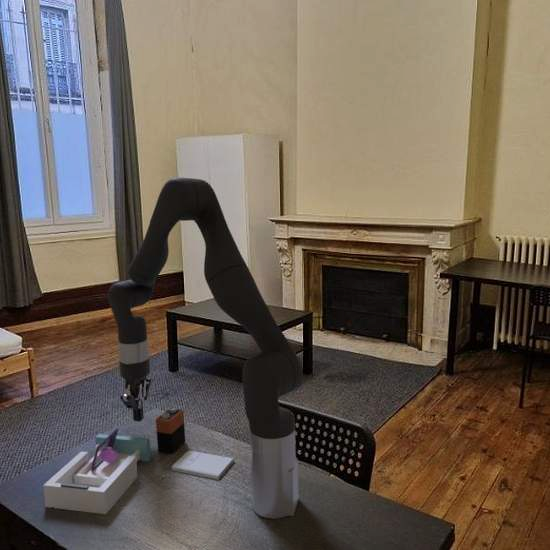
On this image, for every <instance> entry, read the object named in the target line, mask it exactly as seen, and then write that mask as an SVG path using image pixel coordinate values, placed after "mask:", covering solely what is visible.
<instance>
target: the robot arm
mask: <svg viewBox="0 0 550 550" xmlns="http://www.w3.org/2000/svg"><path fill="white" fill-rule="evenodd" d="M180 221H183V222H184V221H194V223H195V224H196V225H197V227H198V229H199V231H200V233H201V235H202V238H203V241H204V245H205V253H204V260H203V261H204V263H203V265H204V266H203V273H204V279H205V282H206V285H207V286H208V288H209V290H210V293H211V295H212V296H213V299H214V301H215V303H216V304H217V306H218V307H219V308H220V309H221V310H222V312H224V313H225V314H226V315H227V316H229V317H230V319H232V320H234V321H235V322H236V323H237V324H238V325H239V326H241V327H242V328H243V329H245V330H246V331H247V332H248V333H249V334H250V336H251V337H252V339H253V341H254V342H255V343H256V345H257V347H258V348H259V351H260V352H261V353H258V354H256V355H253V356H250V357H249V358H247V360H246V362H245V363H244V366H243V368H242V388H243V389H242V391H243V400H244V410H245V415H246V418H247V420H248V425H249V444H250V446H249V447H250V448H249V449H250V454H249V455H250V478H251V480H250V481H251V482H250V483H251V501H252V502H251V504H252V509H253V512H255V513H256V514H257V515H258V516H260V517H263V518H266V519H275V520H276V519H281V518H285V517H294V516H295V512H296V510H297V509H296V508H297V505H298V502H299V461H298V457H296V417H295V415H294V412H292V411H291V410H290V409H287V408H285V407H282V406H280V402H279V398H280V397H282V396H284V395H286V394H289V393H290V392H293V391H295V390H297V389H298V388H299V387H300V386H301V384H302V382H303V378H304V377H303V376H304V375H303V374H304V373H303V368H302V365H301V363H300V362H301V361H300V360H299V358H298V355H297V354H296V351H294V349H293V346H291V343H290V342H289V341H288V339H287V338H286V336H285V333H283V332H282V330H281V328H280V327H279V325H278V323H277V321H276V319H275V318H274V317H273V314H272V312H271V311H270V309H269V306H268V305H267V303H266V302H265V300H264V297H263V296H262V293H261V292H260V290H259V288H258V286H257V283H256V281H255V279H254V277H253V275H252V272H251V271H250V269H249V267H248V265H247V263H246V261H245V260H244V257H243V256H242V254H241V251H240V250H239V247H238V245H237V243H236V241H235V238H234V237H233V235H232V232H231V230H230V227H229V226H228V223H227V220H226V219H225V215H224V213H223V210H222V208H221V204H220V202H219V199H218V197H217V195H216V192H215V191H214V189H213V187H212V185H211V184H210V183H208V181H207V180H203V179H200V178H191V177H190V178H189V177H174V178H170V179H169V180H167V181H166V182H165V183H164V184H163V186H162V188H161V191H160V193H159V195H158V197H157V200H156V203H155V207H154V209H153V212H152V215H151V217H150V221H149V223H148V224H149V225H148V227H147V230H146V232H145V236H144V238H143V240H142V243H141V244H140V246H139V248H138V250H137V252H136V254H135V256H134V258H133V259H132V260H131V263H130V264H129V266H128V269H127V275H128V277H129V279H127V280H123V281H117V282H115V283H113V284H111V286H110V287H109V290H108V293H107V300H108V303H109V304H108V305H109V306H110V309H111V313H112V314H113V318H114V321H115V323H116V326H117V337H118V338H117V339H118V340H117V341H118V345H117V346H118V350H117V352H118V362H119V363H118V366H119V374H120V377H121V378H122V379H123V380H124V381H125V382H124V383H125V384H124V390H125V392H124V394H120V395H119V396H120V397H119V399H120V401H121V402H122V403H123V404H124V406H125V408H127V409H131V410H132V419H133V422H141V421H142V420H144V405H145V401H147V400H148V396H149V392H150V387H151V384H152V378H150V377H147V376H149V374H150V373H151V363H150V362H151V361H150V346H149V342H148V331H147V330H148V329H147V321H146V319H145V317H144V316H141V315H137V314H136V315H133V313H132V309H134V308H136V307H141V306H144V305H145V304H147V303H148V302H149V301H150V300H151V298H152V297H153V293H154V289H155V285H156V280H157V278H158V277H159V275H160V273H161V272H162V270H163V269H164V267H165V265H166V264H167V261H168V258H169V253H170V251H169V249H170V248H169V235H170V233H171V231H172V230H173V229H174V227H175V226H176V225H177V223H178V222H180Z"/></svg>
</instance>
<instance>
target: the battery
mask: <svg viewBox="0 0 550 550" xmlns="http://www.w3.org/2000/svg"><path fill="white" fill-rule="evenodd" d="M184 414H185V413H184V410H183V409H178V407H177V406H171V407H168V409H167V410H166V411H164V412H163V413H161V415H159V416H158V417H157V418H155V427H156V440H157V452H158V453H163V454H169V455H172V454H174V453H176V451H177V450H179V448H181V447H182V446H183V445H184V444H185V443H186V433H185V432H186V431H185V418H184V417H185V415H184Z"/></svg>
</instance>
